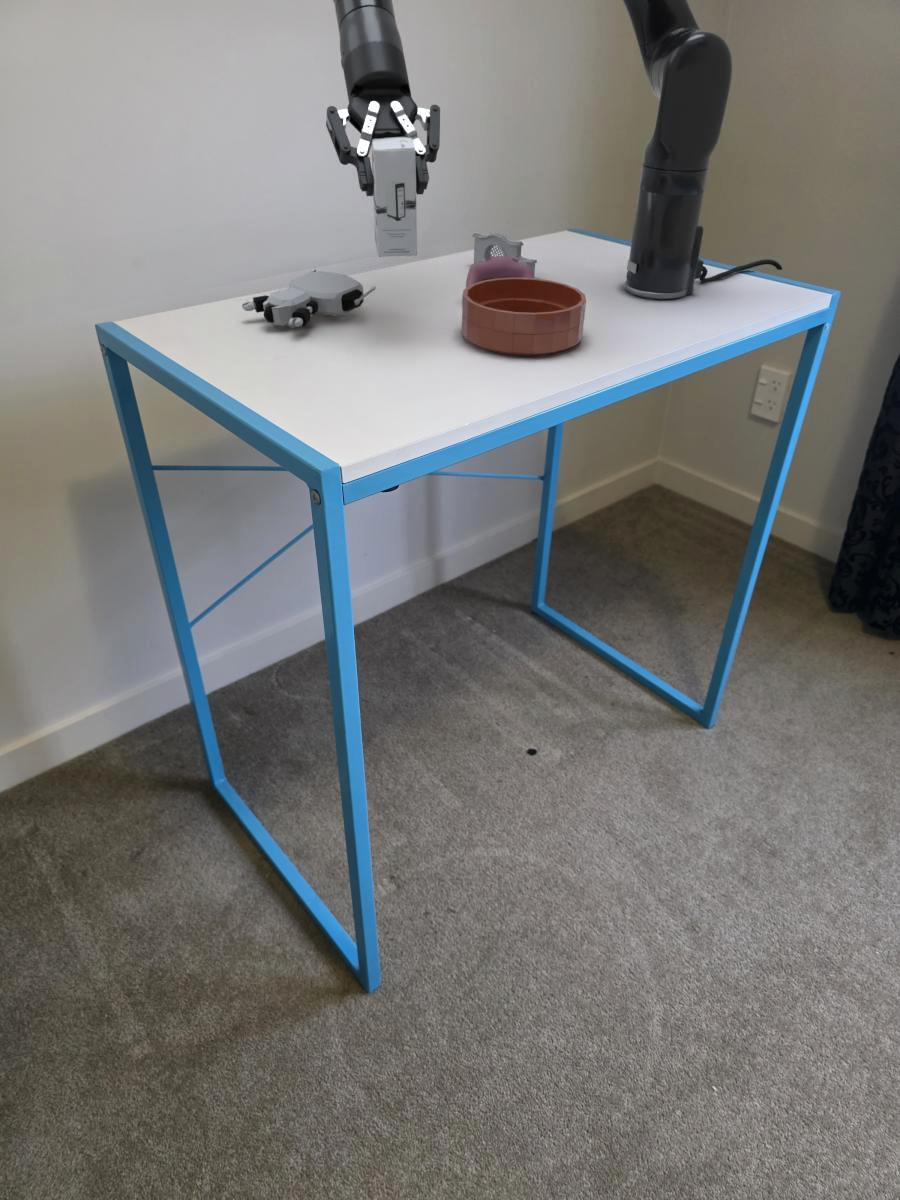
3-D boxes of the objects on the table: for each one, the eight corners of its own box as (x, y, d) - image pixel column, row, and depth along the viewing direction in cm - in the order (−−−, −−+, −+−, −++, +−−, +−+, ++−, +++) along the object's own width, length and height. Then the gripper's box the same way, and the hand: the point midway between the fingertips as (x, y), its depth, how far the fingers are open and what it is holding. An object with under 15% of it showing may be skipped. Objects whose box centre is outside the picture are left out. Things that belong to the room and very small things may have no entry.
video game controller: (532, 310, 127) (536, 261, 126) (532, 305, 122) (536, 253, 121) (465, 307, 128) (468, 258, 126) (463, 301, 123) (467, 250, 122)
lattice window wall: (536, 279, 135) (539, 239, 132) (529, 281, 134) (532, 241, 131) (477, 264, 141) (479, 226, 138) (470, 266, 140) (471, 228, 137)
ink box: (374, 239, 109) (369, 135, 102) (413, 238, 110) (411, 134, 103) (377, 257, 103) (371, 147, 96) (418, 256, 103) (416, 146, 96)
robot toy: (300, 348, 110) (381, 313, 119) (295, 313, 107) (378, 280, 116) (239, 326, 116) (320, 295, 125) (233, 293, 113) (316, 263, 122)
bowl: (556, 315, 121) (559, 274, 117) (599, 353, 108) (605, 309, 105) (448, 322, 117) (449, 280, 114) (481, 362, 105) (483, 317, 102)
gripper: (315, 38, 98) (337, 172, 96) (437, 38, 101) (461, 168, 99) (312, 87, 106) (333, 213, 103) (426, 85, 109) (449, 208, 106)
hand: (396, 190), depth 101 cm, fingers closed on ink box, 5 cm apart
